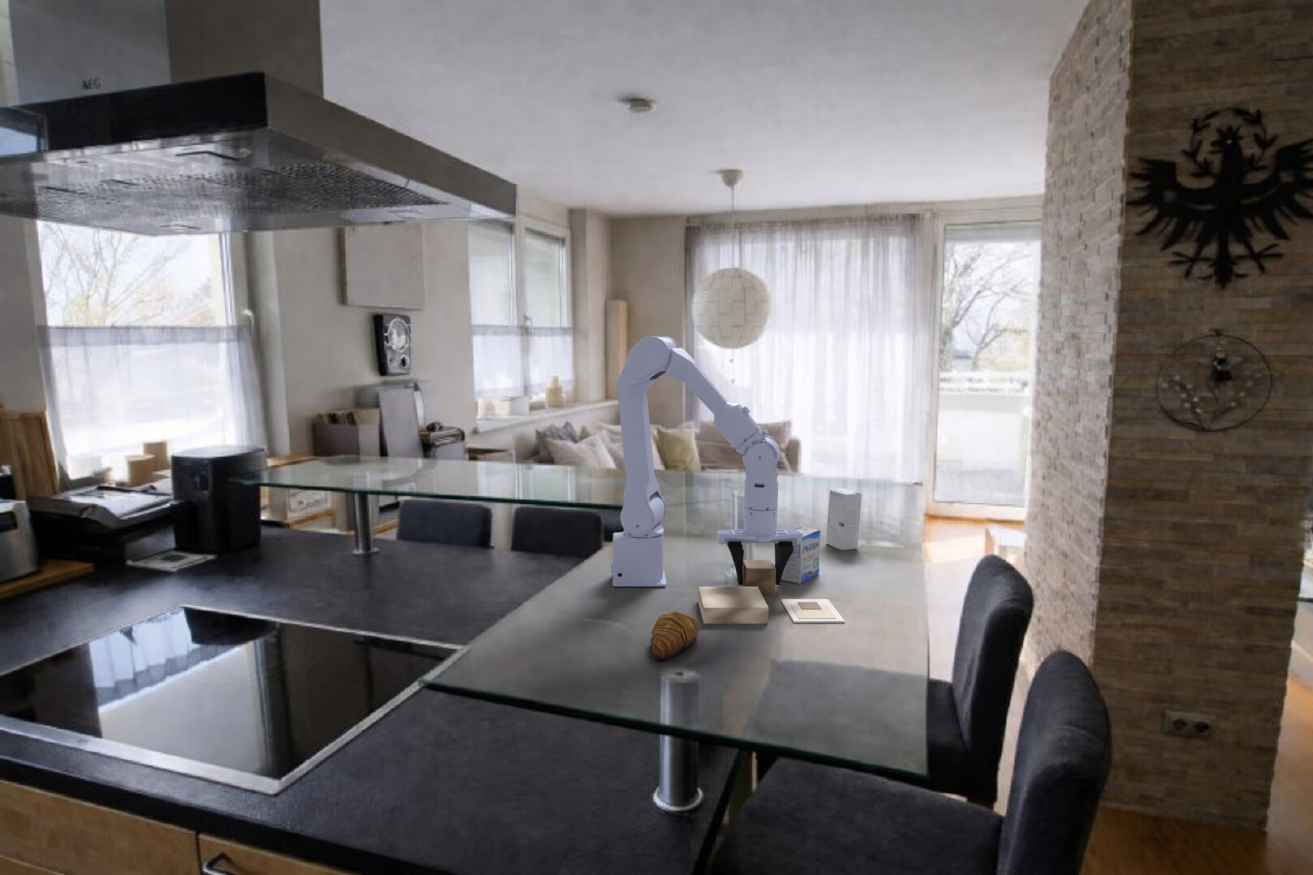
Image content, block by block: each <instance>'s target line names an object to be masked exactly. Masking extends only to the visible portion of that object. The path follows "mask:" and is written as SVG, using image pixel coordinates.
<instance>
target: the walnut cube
mask: <svg viewBox="0 0 1313 875" xmlns="http://www.w3.org/2000/svg"><path fill="white" fill-rule="evenodd" d="M776 586H777V585H776V568H775V563H773V561H772V560H771V559H743V585H741V587H758V588H759V590H760V592H761V594H762V596H763V597H776V588H777V587H776Z"/></svg>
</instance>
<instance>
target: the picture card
mask: <svg viewBox="0 0 1313 875" xmlns="http://www.w3.org/2000/svg"><path fill="white" fill-rule="evenodd" d="M780 602H781V604H782V605H783V607H784V609H785V611H786V612H787V614H788V615H789V617H790V619H791V621H792V622H793V624H845V623H846V621H845V620H844V618H843V617H842V615H841V614H840V613H839V611H837V609H836V608H835V606H834V605H833V604H832V603H831V601H830V600H829V598H823V599H821V598H819V599H817V598H813V599H812V598H809V599H808V598H801V599H799V598H795V599H794V598H790V599H789V598H783V599H782V598H781V599H780Z"/></svg>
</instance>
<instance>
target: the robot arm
mask: <svg viewBox="0 0 1313 875" xmlns="http://www.w3.org/2000/svg"><path fill="white" fill-rule="evenodd" d="M618 376H619V377H618V379H617V381H616V391H617V392H616V393H617V400H618V410H619V421H620V430H621V438H622V446H623V448H622V449H623V458H624V467H625V476H626V483H625V486H624V491H623V494H622V498H623V506H622V509H621V511H620V515H619V516H620V517H619V518H620V523H621V526H622V528H623V531H621V532H613V534H612V562H611V563H610V566H611V568H610V570H611V571H610V573H611V574H612V586H613V587H667V579H666V571H664V557H665V556H664V552H665V551H664V549H665V548H664V544H665V543H664V539H665V538H664V536H665V534H664V527H663V526H662V521H663V520H664V519H665V517H666V515H667V512H668V511H667V510H668V508H667V503H666V501H665V499H664V497H663V496H662V493H661V488H660V487H661V486H660V484H659V482H658V480H657V479H656V473H655V472H656V471H655V464H654V454H653V444H652V433H651V424H650V422H651V421H650V414H649V413H650V412H649V405H648V393H647V391H648V390H649V389H650V388H651V387H652V386H653V384H654V383H655V382H656V381H657V380H658V379H659V378H660V377H661V376H664V377H667V378H671V379H675V380H677V381H681V382H683V383H684V385H685V386H687V387H688V389H689V390H690V391H691V392H692V393H693V394H694V395H695V396H696V398H698V399H699V400H700V402H702V403H703V405H705V406H706V407H707V409H708V410H710V412H712V414H713V426H714V427H715V429H717V430H718V432H719V433H720V434H721V435H722V436H723V437H724V438H725V439H726V441H727V442H728V443H729V444H730V445H731V447H732V448H733V449H734V450H735V451H736V453H740V454H741V455H742V457H741V458H742V464H743V465H744V467H745V480H744V496H743V497H744V499H743V528H740V529H737V528H736V529H726V530H717V543H718V545H725V544H726V545H727V548H728V549H729V552H730V555H731V558H732V560H733V564H734V567H735V569H734V570H735V574H736V582H737V583H738V585H737V586H742V585H743V560H744V555H745V550H744V548H743V547H744V545H743V544H774V566H775V568H776V586H780V585H781V583H782V580H781V578H782V574H783V571H784V568H785V566H786V564H787V562H788V560H789V558H790V556H791V555H792V553H793V550H794V547H793V543H796V544H802V539H803V534H802V532H801V531H792V530H793V529H791V530H789V529H788V530H787V529H778V501H779V481H778V476H779V471H778V466H777V465H778V462H779V460H780V458H781V448H780V446H779V444H778V443H777V440H776V439H775V438H774V437H772V436H771V435H768V434H769V431H768V430H767V429H766V428H764V429H762V428H761V426H760V425H759V424H758V423H757V422H756V421H755V419H753V417H752V416H751V415H750V413H751V410H750V408H749V407H748V406H747V405H745V406H742V405H741V404H740V403H739V402H729V401H728V400H727V399H726V397H724V395H723V394H722V393H721V392H720V390H719V389H718V388H717V386H716V385H715V384H714V383H713V382H712V381H711V379H710V378H709V376H708V375H707V374H706V373H705V372H704V371H703V370H702V368H701V367H700V365H699V364H698V363H697V361H695V359H694V358H692V356H691V355H690V354H689V353H688V352H687V351H686V350H685V349H684V348H682V347H680V346H679V344H678V342H676V341H675V340H674V339H673V338H672V337H669V336H666V335H665V336H664V335H663V336H655V335H647V336H644V337H642V338H640V339H639V340H638V341H637V342H636V343H635V344H634V345H633V346H632V347H630V349H628V352H627V358H626V360H625V363H624V365H623V368H622V370H621V372H620V374H619V375H618Z"/></svg>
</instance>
